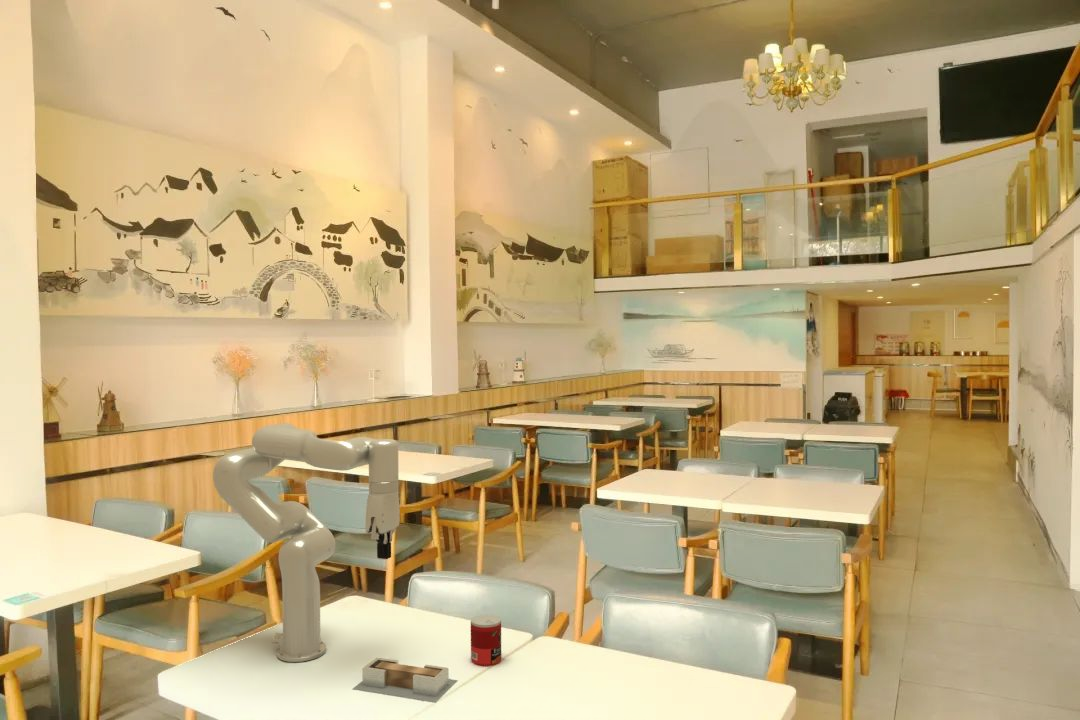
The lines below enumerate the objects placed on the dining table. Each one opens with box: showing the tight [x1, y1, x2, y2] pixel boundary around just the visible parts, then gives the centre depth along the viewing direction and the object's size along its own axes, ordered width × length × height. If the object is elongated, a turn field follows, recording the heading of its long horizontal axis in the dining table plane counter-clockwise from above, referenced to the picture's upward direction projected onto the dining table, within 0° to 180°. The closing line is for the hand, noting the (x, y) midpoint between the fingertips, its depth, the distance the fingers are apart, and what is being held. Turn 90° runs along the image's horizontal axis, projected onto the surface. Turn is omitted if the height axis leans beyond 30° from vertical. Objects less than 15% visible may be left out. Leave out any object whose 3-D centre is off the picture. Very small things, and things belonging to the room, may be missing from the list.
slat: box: [375, 662, 441, 689], centre depth 178 cm, size 16×3×4 cm, turn 71°
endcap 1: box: [361, 657, 399, 688], centre depth 180 cm, size 6×7×4 cm
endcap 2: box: [413, 664, 450, 697], centre depth 176 cm, size 6×7×4 cm
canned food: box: [470, 614, 502, 667], centre depth 192 cm, size 8×8×11 cm
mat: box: [352, 678, 458, 704], centre depth 178 cm, size 22×12×1 cm, turn 71°
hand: (384, 557), depth 192 cm, fingers closed
